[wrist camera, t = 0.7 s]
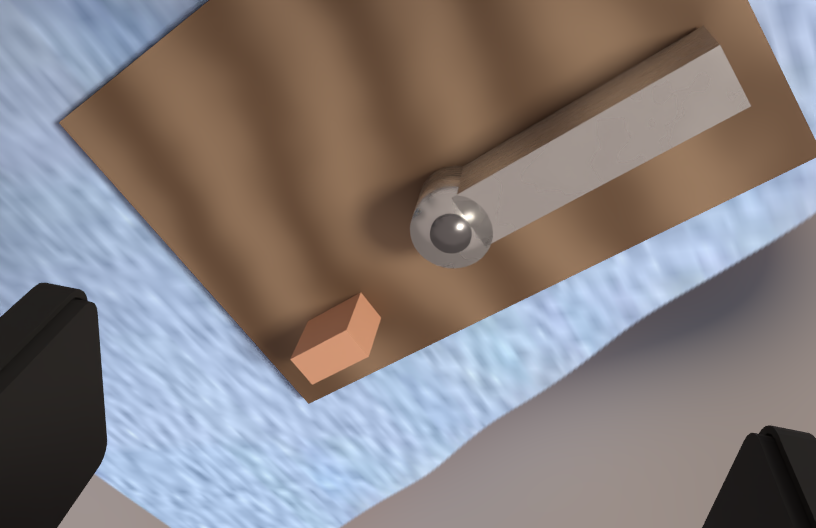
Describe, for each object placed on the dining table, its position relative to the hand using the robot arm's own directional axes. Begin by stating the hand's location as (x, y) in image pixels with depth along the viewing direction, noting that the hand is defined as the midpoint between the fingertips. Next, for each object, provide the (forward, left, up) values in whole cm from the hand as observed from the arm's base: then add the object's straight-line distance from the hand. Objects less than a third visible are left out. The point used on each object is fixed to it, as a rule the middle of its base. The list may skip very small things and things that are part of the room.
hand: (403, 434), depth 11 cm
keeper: (+16, +10, -29) cm, 35 cm away
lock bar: (0, +7, -28) cm, 29 cm away
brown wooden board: (+6, +3, -29) cm, 30 cm away
